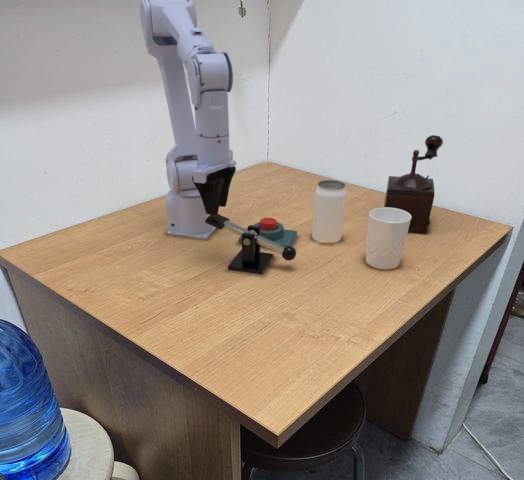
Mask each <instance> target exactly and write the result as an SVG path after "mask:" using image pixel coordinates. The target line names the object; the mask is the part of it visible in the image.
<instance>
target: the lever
mask: <svg viewBox="0 0 524 480" xmlns="http://www.w3.org/2000/svg"><path fill="white" fill-rule="evenodd" d="M205 223H207V224H209V225H211V226H214V227H216V229H218V230H221V231H222V230H223V229H225V230H227V231H229V232H231V233H233V234H236V235H238V236H242V233H243V232H245V233H252V234H255V243H257V244H260V245H262V246H264V247H263V248H266V249H269V250H270V251H272V252H274V253H277V254H279V255H281V257H282V259H284V260H285V261H289V262H290V261H293V260H295V258H296V256H297V250H296V248H295V247H294V246H292V245H291V246H286V247H284V246H282V245H280V244H277V243H275V242H273V241H271V240H269V239H266V238H264V237H262V236H260V235H257V232H256V231H254V230H247V228H245V227H243V226H240V225H239V224H235V223H233V222H231V221H230V218H228V217H225V216H224V215H221V214H219V213H218V214H217V215H210V216H209V217H208V218H207V219H206V220H205Z"/></svg>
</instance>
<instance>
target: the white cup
mask: <svg viewBox="0 0 524 480" xmlns="http://www.w3.org/2000/svg"><path fill="white" fill-rule="evenodd" d="M411 218H412V217H411V215H410V214H409V213H408V212H406V211H404V210H401V209H397V208H389V207H384V206H383V207H377V208H373V209H371V210H370V211H369V214H368V224H367V232H366V235H367V236H366V247H365V249H366V251H365V263H366V264H368V266H370V267H372V268H374V269H378V270H393V269H396V268H398V266H399V265H400V263H401V260H402V254H403V253H404V248H405V245H406V241H407V237H408V233H409V232H408V230H409V226H410V222H411Z"/></svg>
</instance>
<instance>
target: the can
mask: <svg viewBox="0 0 524 480" xmlns="http://www.w3.org/2000/svg"><path fill="white" fill-rule="evenodd" d="M345 187H346V183H344V182H343V181H340V180H335V179H325V180H320V181H318V183H317V186H316V189H315V192H314V202H313V203H314V205H313V217H312V230H311V231H312V232H311V237H312V239H313V240H314V241H316V242H318V243H322V244H335V243H338V242H339V241H341V240H342V234H343V227H344V226H343V225H344V219H345V211H346V210H345V209H346V199H347V190H346V188H345Z"/></svg>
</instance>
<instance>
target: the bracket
mask: <svg viewBox="0 0 524 480" xmlns="http://www.w3.org/2000/svg"><path fill="white" fill-rule="evenodd" d="M251 225H252V224H249V225H248V226H247V228H248V230H254V231H256V232H257V235H260V236H261V227H259V226H251ZM260 246H261V245H260V244H257V243H255V234H252V233H245V232H243V233H242V244H241V249H240V250H239V252H238V253H237V254H236V255H235V256H234V258H233V260H232V261H230V263H229V264H228V266H227V270H228V271H234V272H242V273H249V274H255V275H261V276H263V275H264V273H265V272H266V270H267V269H268V267H269V265H270V264H271V262H272V260H273V259H274V257H275V256H274V255H275V254H274V253H271V252H264V251H263V252H262V251H261V247H260Z"/></svg>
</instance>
